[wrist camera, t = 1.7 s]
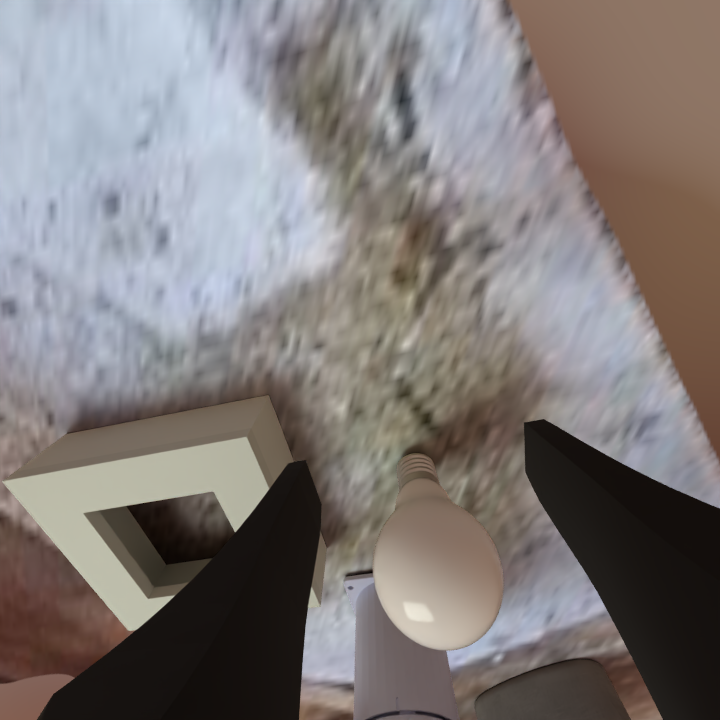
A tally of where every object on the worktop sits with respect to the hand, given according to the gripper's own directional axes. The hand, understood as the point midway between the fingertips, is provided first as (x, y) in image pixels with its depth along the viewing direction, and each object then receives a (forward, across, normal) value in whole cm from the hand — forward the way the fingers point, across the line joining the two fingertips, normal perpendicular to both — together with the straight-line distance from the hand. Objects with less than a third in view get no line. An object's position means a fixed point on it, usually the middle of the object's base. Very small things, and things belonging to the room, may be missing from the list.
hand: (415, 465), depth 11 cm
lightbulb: (+11, 0, +9) cm, 14 cm away
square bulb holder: (+10, +16, +9) cm, 21 cm away
